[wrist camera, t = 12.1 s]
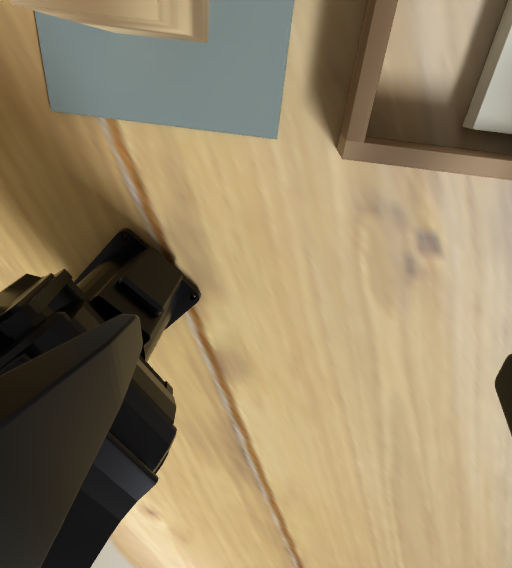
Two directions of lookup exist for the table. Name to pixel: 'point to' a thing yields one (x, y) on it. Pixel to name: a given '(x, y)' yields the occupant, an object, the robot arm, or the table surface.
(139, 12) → the oak block
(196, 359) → the table surface
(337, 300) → the table surface
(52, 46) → the mat
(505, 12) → the port box
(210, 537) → the table surface
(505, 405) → the robot arm
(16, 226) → the table surface
